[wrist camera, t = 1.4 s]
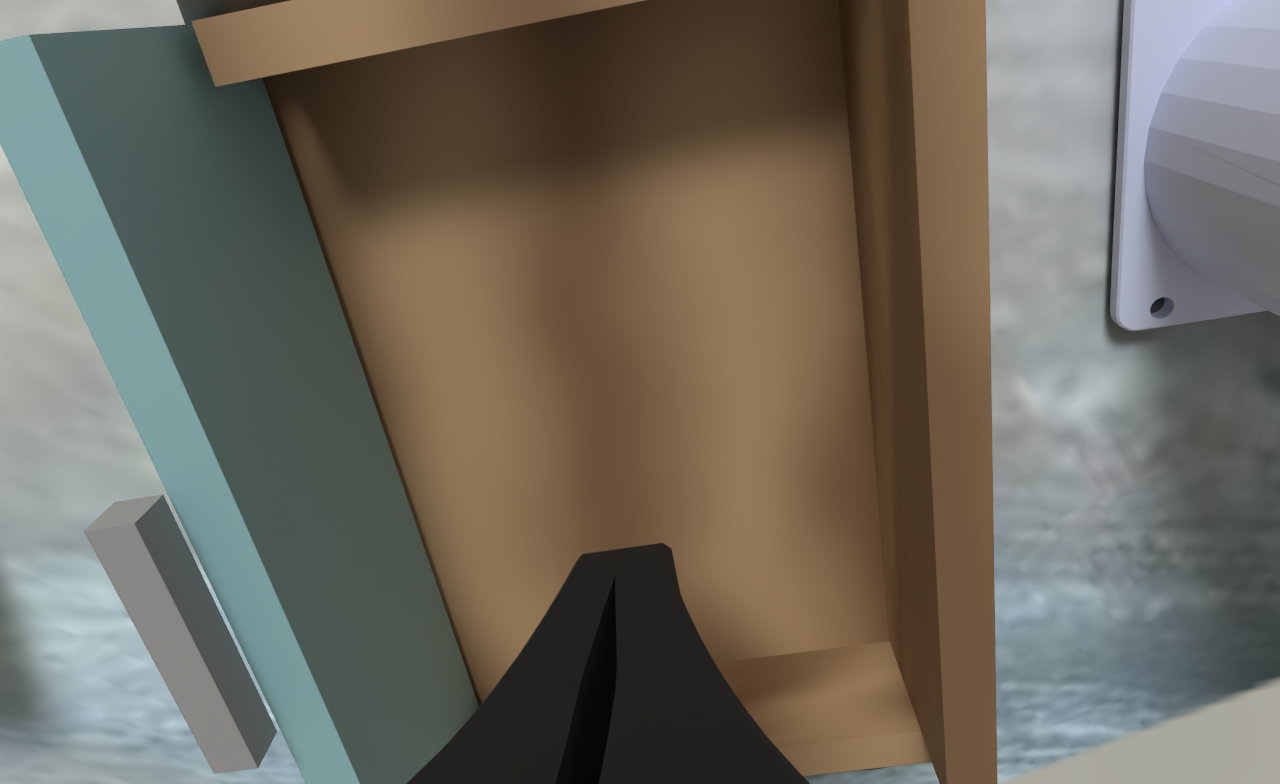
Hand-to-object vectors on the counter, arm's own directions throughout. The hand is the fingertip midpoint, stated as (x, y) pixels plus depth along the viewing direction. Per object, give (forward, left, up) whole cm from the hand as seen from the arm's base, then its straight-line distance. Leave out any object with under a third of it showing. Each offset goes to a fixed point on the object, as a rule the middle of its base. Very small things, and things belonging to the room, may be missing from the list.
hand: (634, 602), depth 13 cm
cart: (0, 0, -9) cm, 9 cm away
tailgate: (+7, 0, -7) cm, 10 cm away
